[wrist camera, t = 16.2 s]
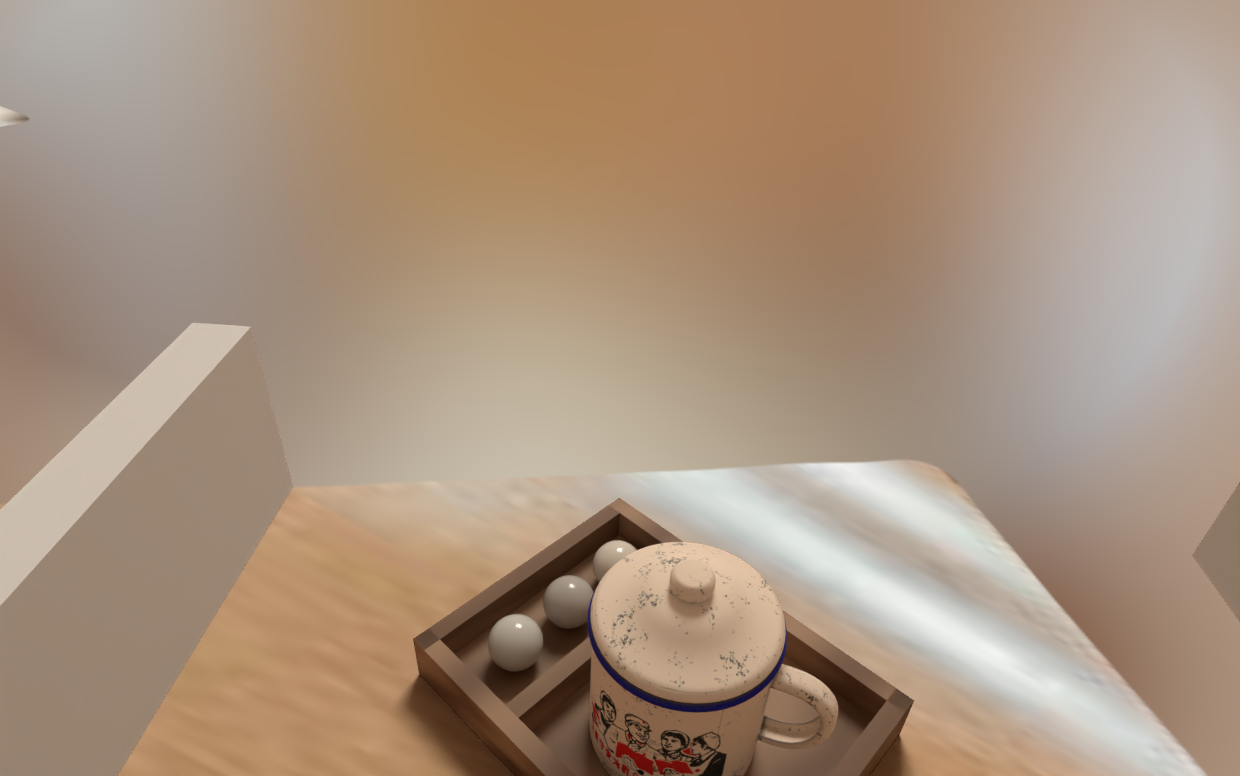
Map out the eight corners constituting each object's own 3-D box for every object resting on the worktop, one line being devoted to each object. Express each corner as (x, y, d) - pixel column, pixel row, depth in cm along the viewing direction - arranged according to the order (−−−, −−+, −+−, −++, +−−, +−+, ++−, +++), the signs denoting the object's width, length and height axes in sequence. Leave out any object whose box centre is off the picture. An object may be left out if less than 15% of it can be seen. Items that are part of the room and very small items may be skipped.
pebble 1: (478, 659, 44) (474, 624, 42) (519, 628, 45) (518, 593, 44) (513, 693, 42) (510, 658, 40) (554, 659, 44) (554, 625, 42)
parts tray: (419, 673, 44) (413, 639, 42) (617, 530, 54) (619, 497, 52) (715, 989, 32) (723, 959, 31) (899, 733, 42) (914, 700, 40)
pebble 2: (532, 618, 46) (531, 583, 44) (570, 590, 48) (570, 556, 46) (568, 649, 44) (568, 614, 43) (605, 619, 46) (606, 584, 45)
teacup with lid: (554, 770, 39) (552, 615, 32) (623, 631, 46) (634, 479, 39) (796, 874, 35) (850, 725, 28) (830, 706, 42) (881, 554, 35)
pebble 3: (582, 581, 48) (582, 547, 47) (615, 556, 50) (617, 522, 49) (617, 609, 47) (618, 575, 45) (650, 582, 49) (653, 548, 47)
